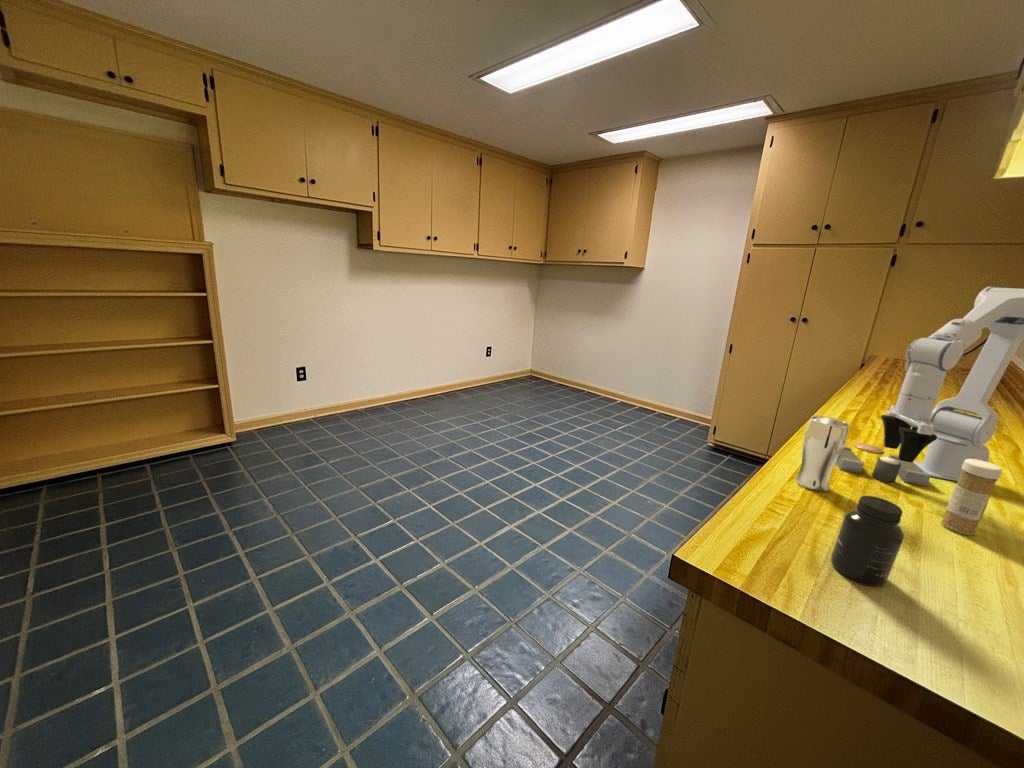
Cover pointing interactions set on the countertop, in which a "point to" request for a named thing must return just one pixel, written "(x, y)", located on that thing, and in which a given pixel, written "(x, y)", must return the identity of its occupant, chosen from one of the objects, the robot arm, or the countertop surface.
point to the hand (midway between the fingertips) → (897, 454)
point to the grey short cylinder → (886, 470)
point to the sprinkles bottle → (971, 496)
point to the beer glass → (821, 451)
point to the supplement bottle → (869, 541)
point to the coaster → (868, 448)
